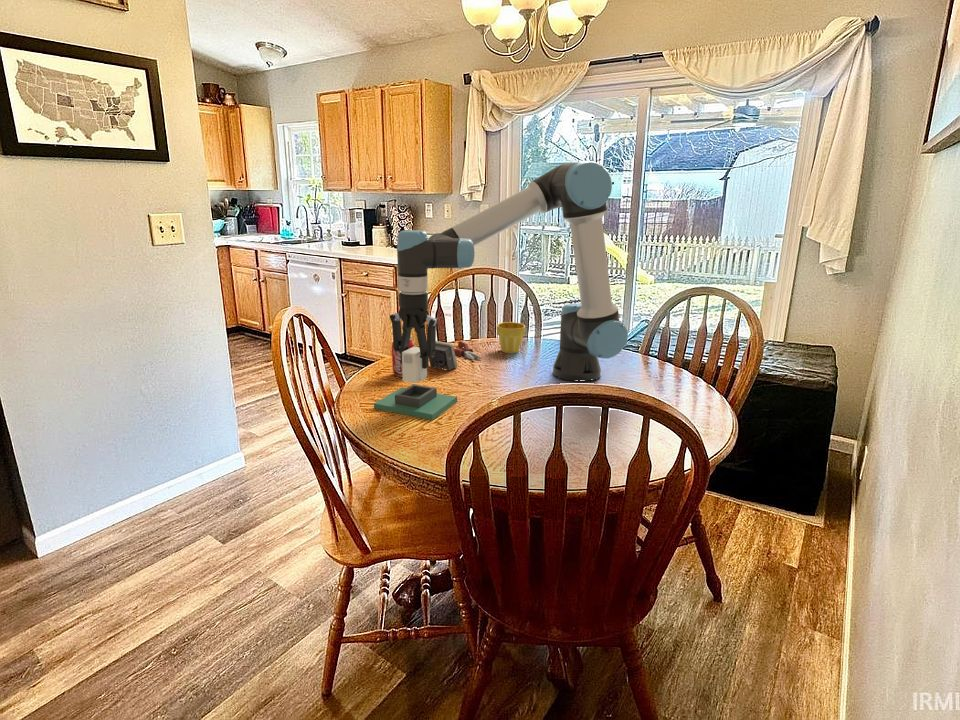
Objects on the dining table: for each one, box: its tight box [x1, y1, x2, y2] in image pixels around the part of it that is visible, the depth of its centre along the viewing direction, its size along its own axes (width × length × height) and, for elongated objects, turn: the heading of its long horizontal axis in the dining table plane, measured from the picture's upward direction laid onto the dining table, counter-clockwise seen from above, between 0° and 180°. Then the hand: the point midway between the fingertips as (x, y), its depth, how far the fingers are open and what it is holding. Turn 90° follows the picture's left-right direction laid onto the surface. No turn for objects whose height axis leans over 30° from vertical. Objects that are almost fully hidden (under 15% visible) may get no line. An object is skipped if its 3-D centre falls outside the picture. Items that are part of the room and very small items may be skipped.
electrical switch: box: [428, 340, 458, 371], centre depth 180 cm, size 9×5×9 cm, turn 57°
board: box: [373, 383, 458, 421], centre depth 149 cm, size 18×14×4 cm
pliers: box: [454, 341, 483, 361], centre depth 197 cm, size 12×20×3 cm, turn 34°
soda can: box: [391, 336, 415, 378], centre depth 173 cm, size 7×7×12 cm
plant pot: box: [496, 321, 526, 354], centre depth 200 cm, size 10×10×10 cm
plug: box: [402, 346, 428, 384], centre depth 146 cm, size 4×7×8 cm, turn 156°
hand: (414, 377), depth 147 cm, fingers closed on plug, 4 cm apart
